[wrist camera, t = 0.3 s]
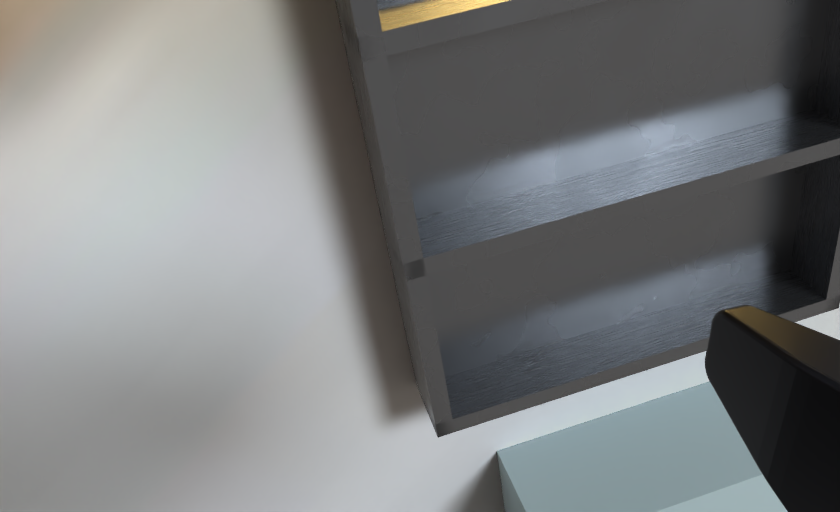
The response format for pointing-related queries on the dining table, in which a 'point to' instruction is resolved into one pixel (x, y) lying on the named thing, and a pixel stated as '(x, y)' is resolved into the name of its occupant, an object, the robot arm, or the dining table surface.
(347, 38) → the grey compartment tray
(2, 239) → the dining table surface
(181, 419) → the dining table surface
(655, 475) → the blanking panel
